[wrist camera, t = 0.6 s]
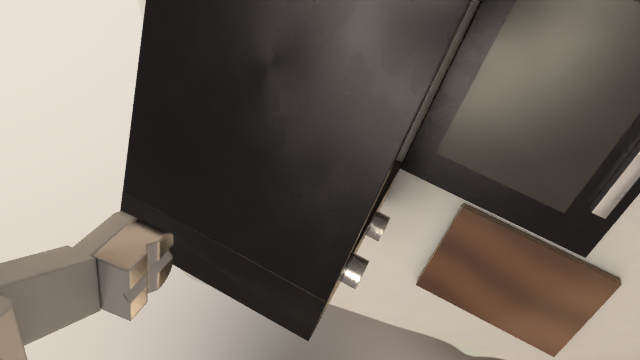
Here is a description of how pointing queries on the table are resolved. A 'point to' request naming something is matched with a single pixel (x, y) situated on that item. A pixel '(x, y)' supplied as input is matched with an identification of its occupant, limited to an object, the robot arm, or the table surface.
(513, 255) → the cutting board
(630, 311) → the table surface
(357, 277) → the oven
